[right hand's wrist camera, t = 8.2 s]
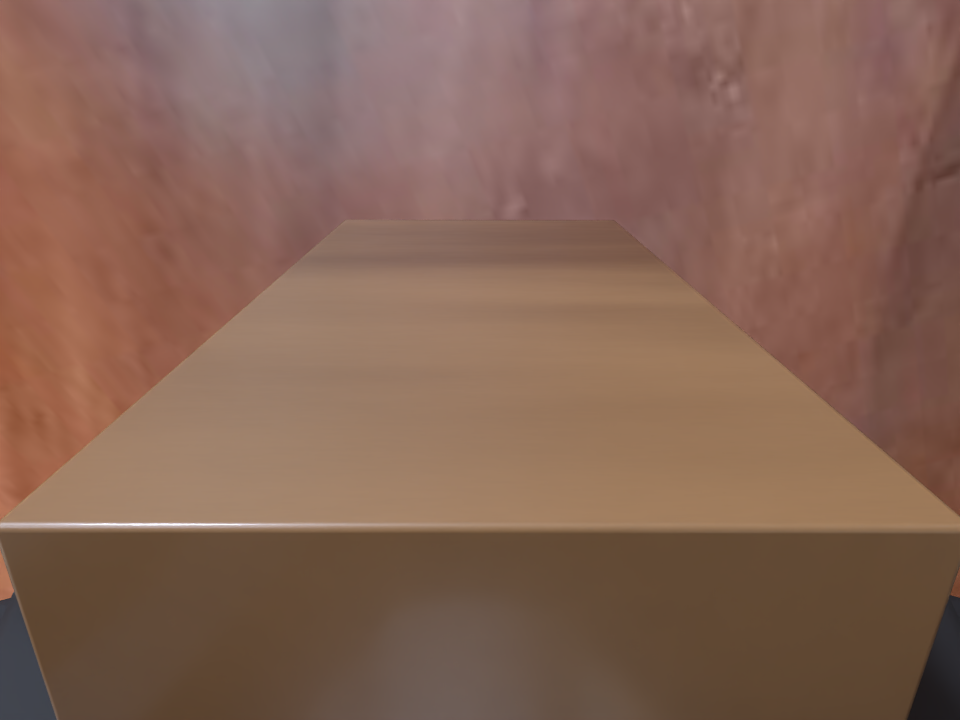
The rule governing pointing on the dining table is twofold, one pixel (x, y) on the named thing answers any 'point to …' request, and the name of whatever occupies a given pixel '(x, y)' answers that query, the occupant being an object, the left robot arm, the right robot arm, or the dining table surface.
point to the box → (481, 507)
